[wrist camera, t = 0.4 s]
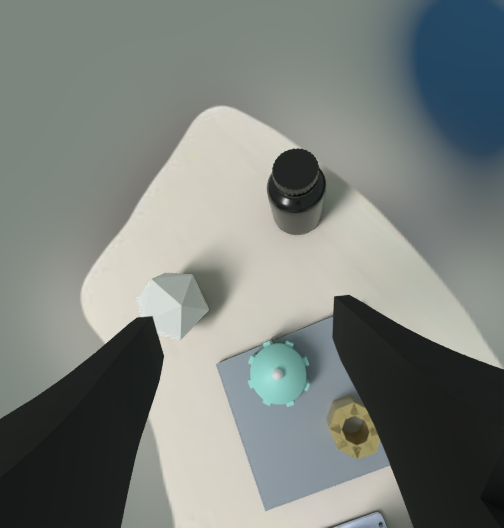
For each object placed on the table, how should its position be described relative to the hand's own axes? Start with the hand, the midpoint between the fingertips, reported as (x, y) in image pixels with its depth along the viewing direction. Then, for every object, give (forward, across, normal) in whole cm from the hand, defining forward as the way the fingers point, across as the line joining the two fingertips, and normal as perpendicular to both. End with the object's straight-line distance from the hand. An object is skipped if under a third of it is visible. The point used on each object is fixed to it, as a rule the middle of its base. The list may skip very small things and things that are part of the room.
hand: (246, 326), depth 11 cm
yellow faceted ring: (+12, -10, +24) cm, 29 cm away
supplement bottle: (+30, -8, +4) cm, 31 cm away
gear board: (+14, -7, +23) cm, 28 cm away
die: (+25, +9, +14) cm, 30 cm away
